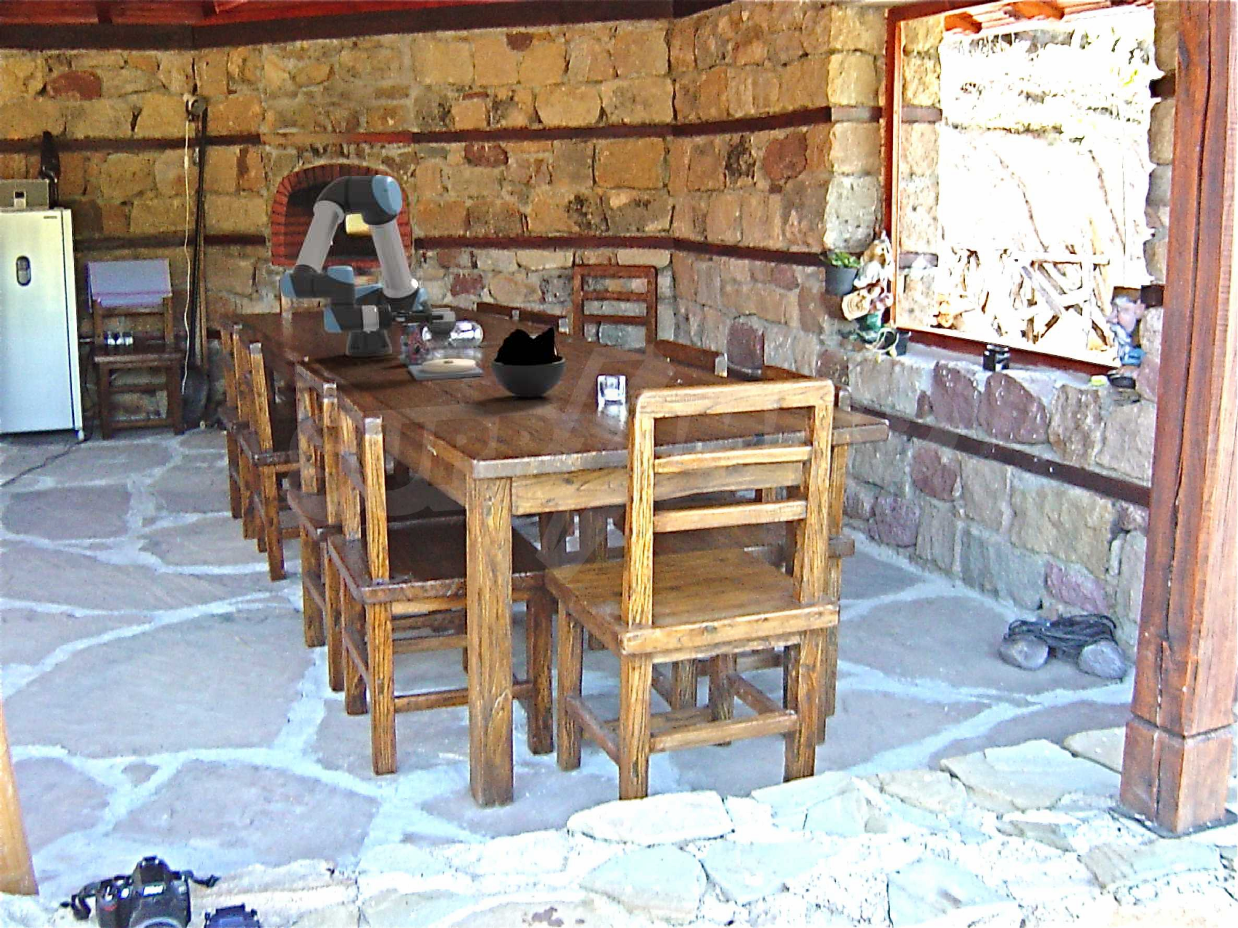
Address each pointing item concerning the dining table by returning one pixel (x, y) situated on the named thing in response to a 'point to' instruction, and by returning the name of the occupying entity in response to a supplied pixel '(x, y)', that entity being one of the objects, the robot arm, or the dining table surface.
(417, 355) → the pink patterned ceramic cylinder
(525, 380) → the coal bowl
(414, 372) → the carrier board
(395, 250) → the robot arm
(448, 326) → the mortar and pestle
